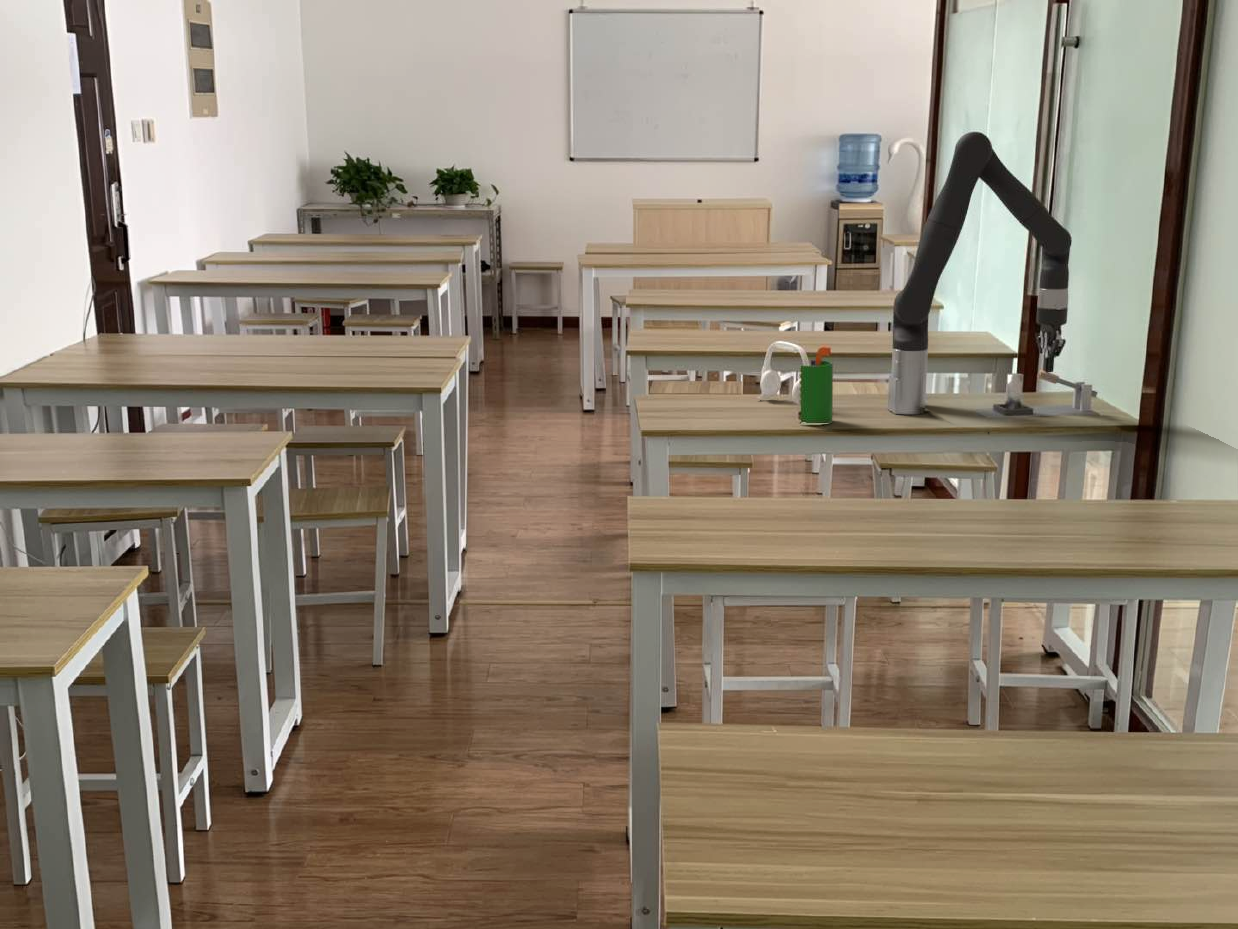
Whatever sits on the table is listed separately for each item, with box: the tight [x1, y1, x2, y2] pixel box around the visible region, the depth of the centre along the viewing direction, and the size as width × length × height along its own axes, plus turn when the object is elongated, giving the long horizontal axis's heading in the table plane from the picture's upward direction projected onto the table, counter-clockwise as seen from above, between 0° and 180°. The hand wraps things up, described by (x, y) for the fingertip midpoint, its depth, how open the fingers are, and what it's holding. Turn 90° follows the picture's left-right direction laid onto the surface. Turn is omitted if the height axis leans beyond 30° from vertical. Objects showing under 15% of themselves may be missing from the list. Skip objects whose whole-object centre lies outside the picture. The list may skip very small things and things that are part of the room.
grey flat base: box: [971, 381, 1101, 419], centre depth 327 cm, size 30×12×8 cm, turn 97°
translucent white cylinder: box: [1004, 372, 1024, 409], centre depth 325 cm, size 4×4×10 cm
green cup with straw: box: [797, 345, 834, 423], centre depth 324 cm, size 10×9×20 cm
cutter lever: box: [1036, 369, 1099, 398], centre depth 327 cm, size 17×2×2 cm, turn 97°
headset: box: [757, 340, 811, 406], centre depth 346 cm, size 20×7×18 cm, turn 29°
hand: (1048, 371), depth 325 cm, fingers closed
